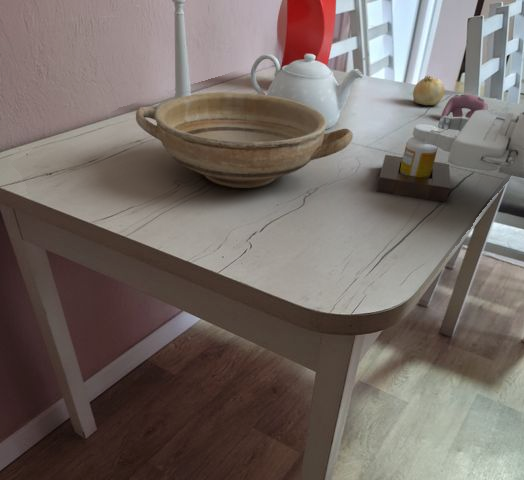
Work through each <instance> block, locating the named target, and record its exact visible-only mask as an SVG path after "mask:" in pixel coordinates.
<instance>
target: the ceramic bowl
mask: <svg viewBox="0 0 524 480" xmlns="http://www.w3.org/2000/svg"><path fill="white" fill-rule="evenodd" d="M148 119H151V120H154V121H155V122H156V125H155V124H154V123H152V122H150V120H148ZM135 121H136V123H137V125H138V126H139V127H140V128H141V129H142V130H143V131H144V132H146V133H147V134H148V135H150V136H152V137H153V138H155V139H157V140H158V141H160V142H161V144H162V146H163V148H164V149H165V151H166V152H167V153H168V154H169V155H170V156H171V158H173V160H175V161H176V162H178V163H179V164H180V165H181V166H183V167H185V168H187V169H189V170H191V171H193V172H195V173H198V174H201V175H203V176H204V177H205V178H206V179H207V180H209V181H210V182H212V183H214V184H216V185H220V186H223V187H226V188H227V187H228V188H235V189H251V188H259V187H264V186H266V185H267V186H268V185H269V184H271V183H272V182H274V181H275V180H276V179H277V178H281V177H284V176H287V175H290V174H293V173H294V172H295V173H296V172H297V171H298V170H301V169H302V168H304V167H305V166H306V165H308V164H309V163H310V162H312V161H315V160H318V159H322V158H325V157H326V158H327V157H329V156H332V155H334V154H336V153H339V152H341V151H343V150H345V149H346V148H347V147H348V146H349V145H350V143H352V140H353V137H354V136H353V132H352V130H350V129H349V128H341V129H336V130H333V131H331V132H326V133H325V131H326V130H327V129H326V127H327V120H326V119H325V117H324V116H323V115H322V114H321V113H320V112H319V111H317V110H315V109H314V108H312V107H310V106H307V105H305V104H302V103H299V102H296V101H293V100H289V99H285V98H281V97H275V96H270V95H267V94H265V95H262V94H258V93H254V92H253V93H251V92H236V91H235V92H234V91H233V92H231V91H230V92H229V91H225V92H223V91H222V92H221V91H220V92H204V93H203V92H202V93H195V94H191V95H189V96H184V97H180V98H176V99H173V100H170V101H168V102H166V103H164V104H162V105H161V106H159V108H158V109H157V110H156V108H154V107H151V106H141V107H139V108H138V109H137V110H136V112H135Z"/></svg>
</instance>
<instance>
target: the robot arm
mask: <svg viewBox="0 0 524 480" xmlns="http://www.w3.org/2000/svg"><path fill="white" fill-rule="evenodd" d="M519 113H520V114H518V113H514V112H509V111H499V110H489V109H487V110H477V111H474V113H473V114H472V116H471V117H470V118H468V117H465V116H462V117H453V116H450V115H448V116H442V117H441V116H440V119H439V122H438V125H437V128H438V129H439V130H444V131H448V130H452V131H458V134H457V135H453V134H449V135H448V134H445V133H442V132H441V131H439V130H438V131H434V130H431V131H429V132H428V134H427V136H426V140H425V142H426V143H427V144H430V145H435V146H437V147H438V149H440V150H443V151H444V152H449V154H448V157H447V162H448V163H449V164H452V165H453V166H457V167H462V168H468V169H473V170H480V171H487V172H488V171H490V172H491V171H496V170H498V173H499V174H503V175H507V176H512V177H516V178H521V179H524V110H523V111H521V112H519Z"/></svg>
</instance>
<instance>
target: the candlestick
mask: <svg viewBox="0 0 524 480" xmlns="http://www.w3.org/2000/svg"><path fill="white" fill-rule="evenodd" d="M171 1H172V2H173V6H174V12H173V14H174V67H175V68H174V79H175V81H174V83H175V84H174V85H175V86H174V87H175V88H174V92H175V93H174V97H170V98H167V99H164V100H163V101H161V102H160V103H158V104H157V105H156V107H155V109H156V110H157V109H158V108H159V106H161V105H162V104H164V103H166V102H168V101H170V100H173V99H176V98H180V97H184V96H189V95H192V92H191V91H192V89H191V79H190V78H191V77H190V68H189V56H188V46H187V34H186V22H185V21H186V20H185V12H184V4H185V2H186V0H171Z"/></svg>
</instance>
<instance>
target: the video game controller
mask: <svg viewBox="0 0 524 480" xmlns="http://www.w3.org/2000/svg"><path fill="white" fill-rule="evenodd" d="M488 106H489V105H488V103H487V101H485V100H484V99H483V98H481V97H479V96H477V95H473V94H467V93H465V94H464V93H463V94H457V93H456V94H454V96H452V97H450V98H449V100H448V101H447V103H446V104H445V106H444V108H443V110H442V113H441V116H440V118H441V117H442V116H450V114H451V113H452V117H463V116H464V115H463V113H464V112H463V109H468V110H469V111H467V112H466V113H465V116H464V117H468V118H470V117H471V116H472V114H473V113H474V111H477V110H489V109H488V108H489V107H488Z"/></svg>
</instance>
